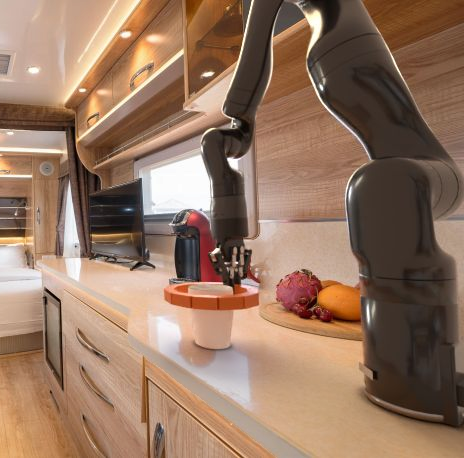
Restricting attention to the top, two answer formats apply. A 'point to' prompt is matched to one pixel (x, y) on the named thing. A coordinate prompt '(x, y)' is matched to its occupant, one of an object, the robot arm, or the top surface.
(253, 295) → the ring
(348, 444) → the top surface
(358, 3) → the robot arm
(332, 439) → the top surface
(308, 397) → the top surface
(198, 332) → the cup
